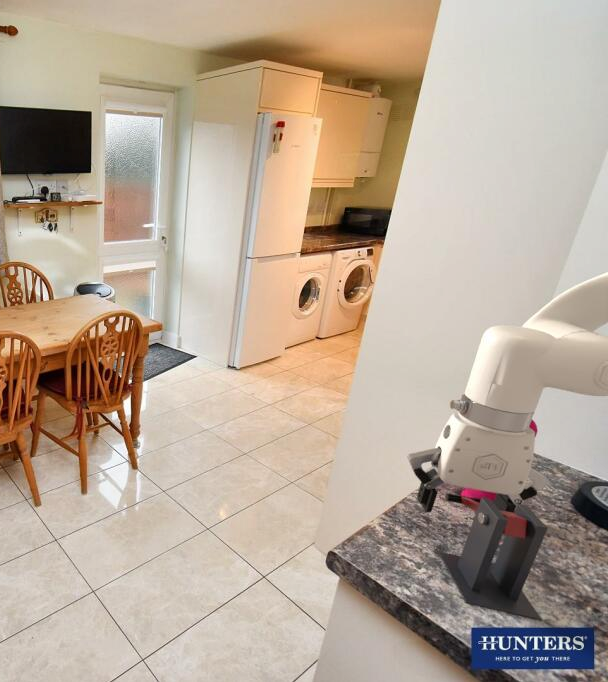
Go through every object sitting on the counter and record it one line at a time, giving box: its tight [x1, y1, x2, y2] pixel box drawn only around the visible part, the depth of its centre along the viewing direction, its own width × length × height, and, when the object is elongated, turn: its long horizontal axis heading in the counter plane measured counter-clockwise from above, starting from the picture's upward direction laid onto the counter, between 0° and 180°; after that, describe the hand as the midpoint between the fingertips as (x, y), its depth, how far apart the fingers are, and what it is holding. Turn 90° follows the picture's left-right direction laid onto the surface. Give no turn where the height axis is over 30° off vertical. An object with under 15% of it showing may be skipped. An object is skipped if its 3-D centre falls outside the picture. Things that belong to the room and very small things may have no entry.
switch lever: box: [444, 492, 527, 538], centre depth 62 cm, size 13×4×2 cm, turn 162°
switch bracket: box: [437, 498, 548, 622], centre depth 58 cm, size 9×8×13 cm
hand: (460, 513), depth 68 cm, fingers open, 9 cm apart
